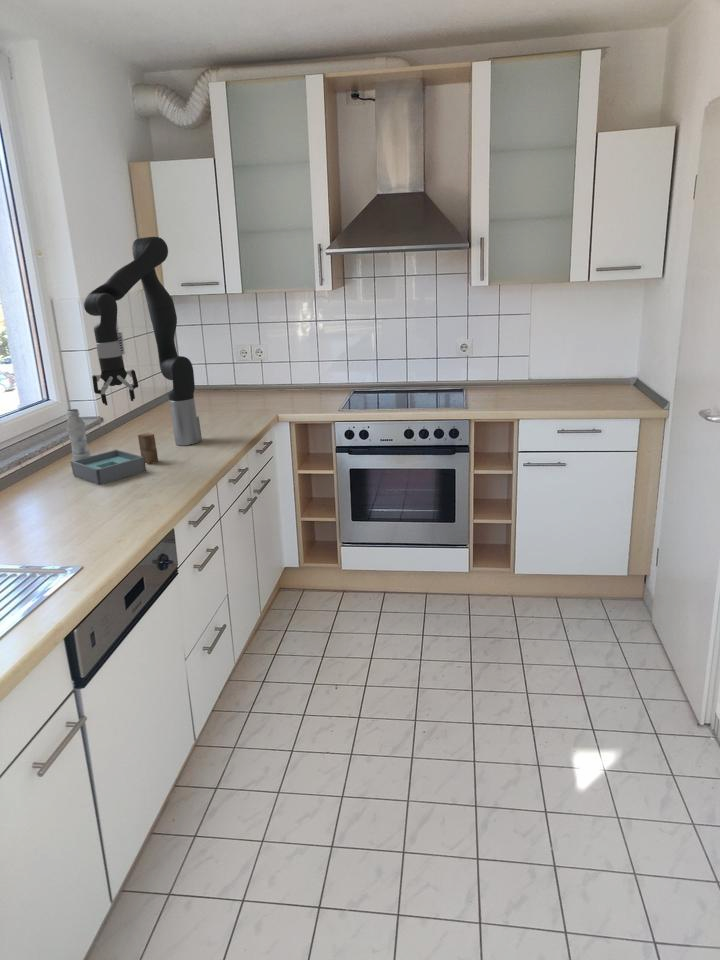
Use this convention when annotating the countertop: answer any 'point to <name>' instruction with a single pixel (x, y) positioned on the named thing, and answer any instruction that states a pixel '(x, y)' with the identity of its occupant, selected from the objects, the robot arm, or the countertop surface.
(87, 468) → the box
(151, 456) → the peg
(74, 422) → the plastic bottle
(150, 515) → the countertop surface
